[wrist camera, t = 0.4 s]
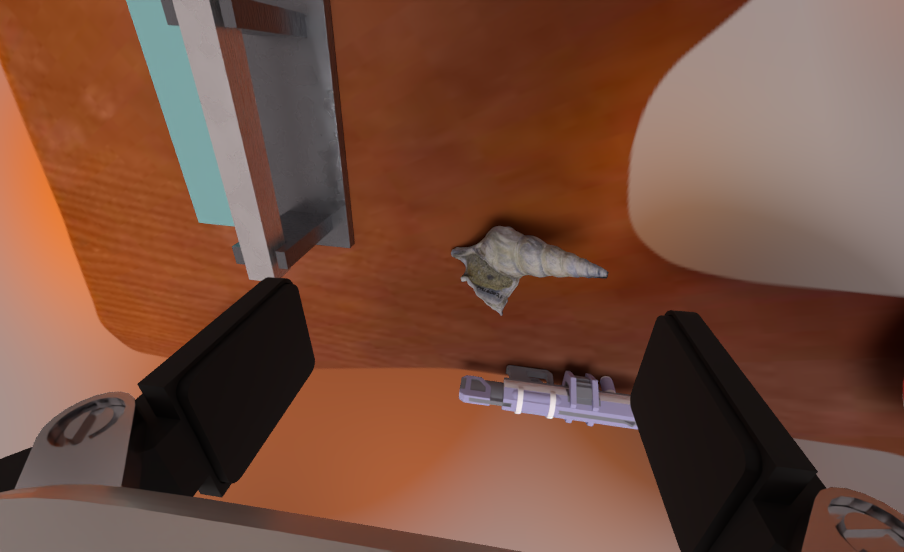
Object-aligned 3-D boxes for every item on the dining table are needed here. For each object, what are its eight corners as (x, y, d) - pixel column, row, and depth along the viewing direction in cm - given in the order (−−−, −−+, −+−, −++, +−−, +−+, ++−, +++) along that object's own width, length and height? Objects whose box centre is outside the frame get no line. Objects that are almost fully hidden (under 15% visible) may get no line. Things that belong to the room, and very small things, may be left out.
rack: (234, -18, 37) (119, -52, 26) (328, -16, 36) (248, -50, 25) (285, 236, 51) (225, 281, 40) (354, 243, 50) (310, 291, 39)
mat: (111, -59, 37) (106, -61, 36) (193, -58, 36) (188, -59, 35) (202, 221, 52) (198, 222, 51) (261, 227, 51) (258, 228, 50)
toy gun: (643, 402, 56) (661, 449, 50) (463, 377, 59) (456, 418, 53) (658, 368, 53) (679, 413, 46) (466, 343, 56) (459, 382, 49)
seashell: (454, 210, 45) (439, 244, 37) (593, 223, 44) (612, 262, 35) (450, 279, 51) (437, 322, 42) (575, 293, 49) (588, 342, 40)
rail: (194, -26, 29) (162, -35, 26) (229, -25, 28) (201, -34, 26) (265, 266, 42) (249, 279, 39) (290, 269, 41) (275, 282, 39)
